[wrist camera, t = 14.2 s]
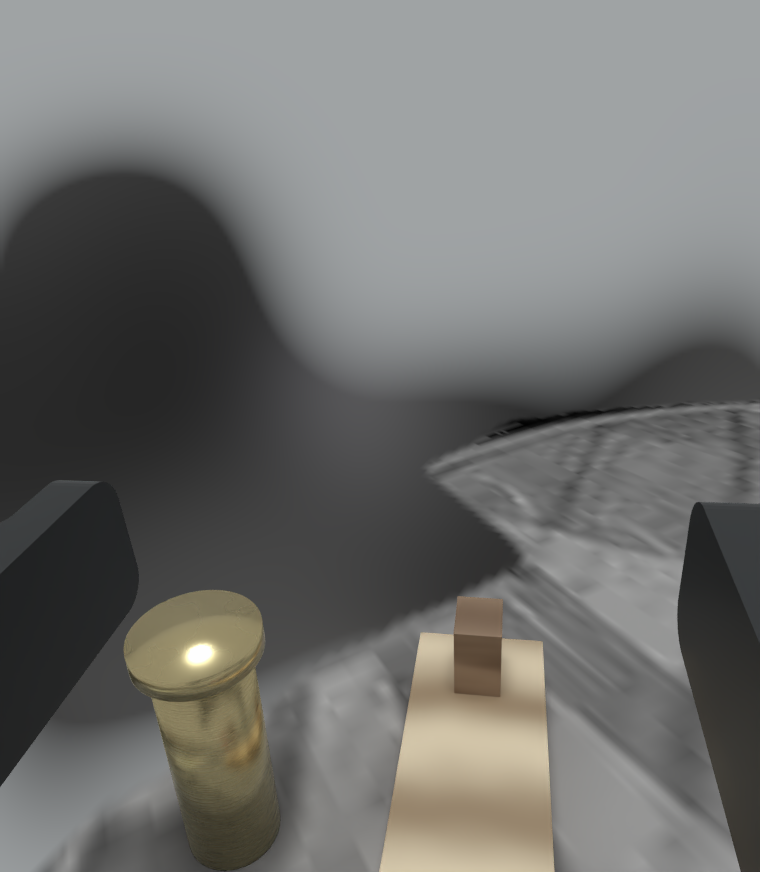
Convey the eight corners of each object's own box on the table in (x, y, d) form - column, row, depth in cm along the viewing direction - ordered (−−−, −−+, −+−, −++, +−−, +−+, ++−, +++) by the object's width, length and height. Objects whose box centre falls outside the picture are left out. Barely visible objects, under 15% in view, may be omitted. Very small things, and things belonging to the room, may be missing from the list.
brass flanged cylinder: (250, 757, 38) (216, 574, 33) (315, 825, 34) (289, 630, 29) (154, 826, 34) (100, 634, 29) (215, 910, 31) (164, 706, 26)
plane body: (422, 671, 43) (419, 577, 40) (540, 680, 42) (545, 584, 39) (345, 1151, 23) (327, 1037, 20) (562, 1196, 22) (577, 1082, 19)
